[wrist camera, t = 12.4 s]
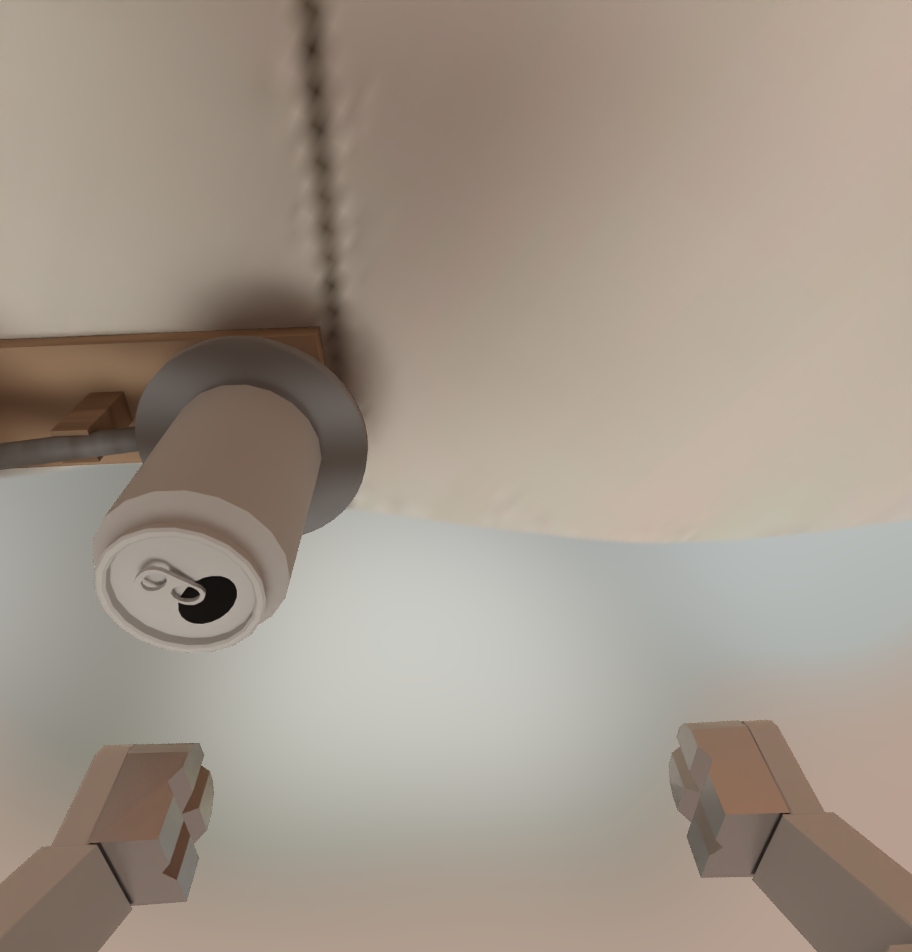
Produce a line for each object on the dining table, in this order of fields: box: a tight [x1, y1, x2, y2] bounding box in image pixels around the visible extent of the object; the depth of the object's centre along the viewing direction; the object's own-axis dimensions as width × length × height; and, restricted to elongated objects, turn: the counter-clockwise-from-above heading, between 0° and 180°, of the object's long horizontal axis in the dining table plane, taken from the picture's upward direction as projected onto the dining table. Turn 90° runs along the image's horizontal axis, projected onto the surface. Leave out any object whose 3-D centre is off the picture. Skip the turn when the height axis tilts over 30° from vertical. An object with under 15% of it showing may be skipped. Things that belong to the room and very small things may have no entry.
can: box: [93, 385, 321, 653], centre depth 29 cm, size 8×8×12 cm
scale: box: [0, 327, 368, 535], centre depth 35 cm, size 12×32×15 cm, turn 92°
